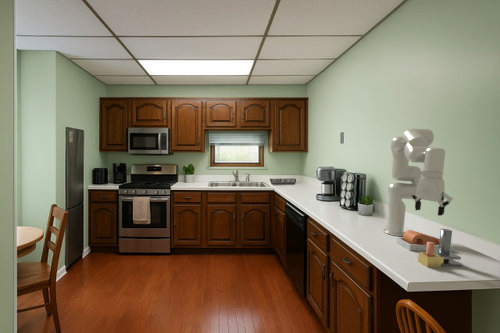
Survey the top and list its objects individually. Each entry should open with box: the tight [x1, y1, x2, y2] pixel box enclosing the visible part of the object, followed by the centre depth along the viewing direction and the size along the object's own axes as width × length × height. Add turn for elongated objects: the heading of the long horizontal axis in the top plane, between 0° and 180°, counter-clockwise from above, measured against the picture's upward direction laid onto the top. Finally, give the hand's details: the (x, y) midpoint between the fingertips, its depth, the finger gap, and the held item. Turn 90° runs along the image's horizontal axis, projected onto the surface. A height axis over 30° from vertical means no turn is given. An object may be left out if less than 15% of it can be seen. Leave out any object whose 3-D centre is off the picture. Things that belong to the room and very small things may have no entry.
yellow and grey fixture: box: [417, 228, 463, 268], centre depth 130 cm, size 12×18×15 cm
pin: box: [425, 242, 435, 257], centre depth 127 cm, size 3×3×10 cm
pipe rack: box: [396, 237, 454, 253], centre depth 151 cm, size 12×24×3 cm, turn 94°
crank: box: [402, 229, 440, 245], centre depth 151 cm, size 20×8×8 cm, turn 94°
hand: (428, 212), depth 128 cm, fingers open, 9 cm apart
